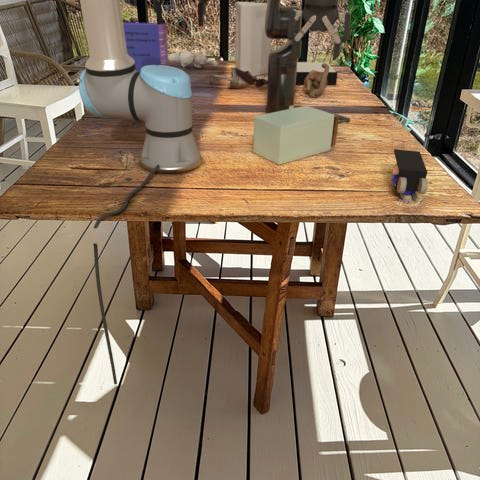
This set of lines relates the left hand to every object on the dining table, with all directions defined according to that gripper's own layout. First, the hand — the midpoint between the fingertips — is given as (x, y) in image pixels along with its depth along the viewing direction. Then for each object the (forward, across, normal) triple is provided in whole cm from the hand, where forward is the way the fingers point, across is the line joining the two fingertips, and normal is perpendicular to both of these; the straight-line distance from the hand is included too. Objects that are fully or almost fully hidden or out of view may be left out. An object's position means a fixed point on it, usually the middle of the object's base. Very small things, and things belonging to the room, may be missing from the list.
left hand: (180, 25), depth 150 cm
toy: (+27, +23, -68) cm, 76 cm away
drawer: (+26, -46, +24) cm, 58 cm away
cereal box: (+27, +24, -23) cm, 42 cm away
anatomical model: (+27, -41, -36) cm, 61 cm away
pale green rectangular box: (+27, -42, +29) cm, 57 cm away
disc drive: (+27, -37, -62) cm, 77 cm away
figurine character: (+27, -71, +47) cm, 89 cm away
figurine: (+27, -14, -37) cm, 48 cm away
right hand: (+2, -46, +33) cm, 57 cm away
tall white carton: (+27, -10, -67) cm, 73 cm away
